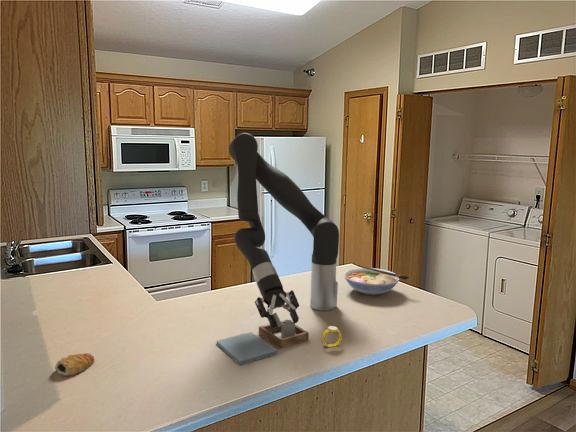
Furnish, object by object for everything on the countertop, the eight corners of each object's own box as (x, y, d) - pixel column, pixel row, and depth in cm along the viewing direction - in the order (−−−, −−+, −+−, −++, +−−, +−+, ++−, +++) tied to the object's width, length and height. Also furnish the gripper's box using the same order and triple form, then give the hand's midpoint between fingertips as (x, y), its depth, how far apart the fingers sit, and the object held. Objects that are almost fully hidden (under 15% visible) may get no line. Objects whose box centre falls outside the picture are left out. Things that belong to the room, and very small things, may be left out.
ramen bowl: (329, 290, 183) (330, 271, 182) (363, 279, 198) (364, 262, 197) (378, 307, 165) (379, 286, 163) (412, 294, 180) (413, 275, 178)
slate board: (251, 334, 139) (251, 331, 139) (276, 353, 127) (276, 350, 127) (216, 343, 132) (216, 340, 132) (239, 364, 120) (239, 361, 120)
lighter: (293, 334, 140) (294, 310, 139) (294, 336, 138) (295, 313, 137) (271, 336, 138) (272, 312, 137) (272, 338, 137) (273, 314, 135)
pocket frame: (287, 326, 146) (287, 319, 146) (308, 339, 136) (308, 332, 136) (258, 333, 140) (258, 326, 140) (279, 348, 130) (279, 340, 130)
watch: (338, 343, 135) (340, 325, 134) (342, 347, 132) (344, 329, 131) (320, 344, 133) (322, 326, 132) (323, 348, 130) (325, 329, 130)
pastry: (84, 357, 123) (84, 345, 122) (100, 364, 120) (100, 351, 119) (52, 372, 115) (52, 358, 114) (69, 379, 112) (68, 366, 111)
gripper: (252, 276, 137) (271, 324, 130) (289, 270, 145) (310, 315, 138) (244, 288, 142) (262, 335, 135) (280, 281, 150) (299, 325, 143)
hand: (286, 324), depth 136 cm, fingers closed on lighter, 7 cm apart
